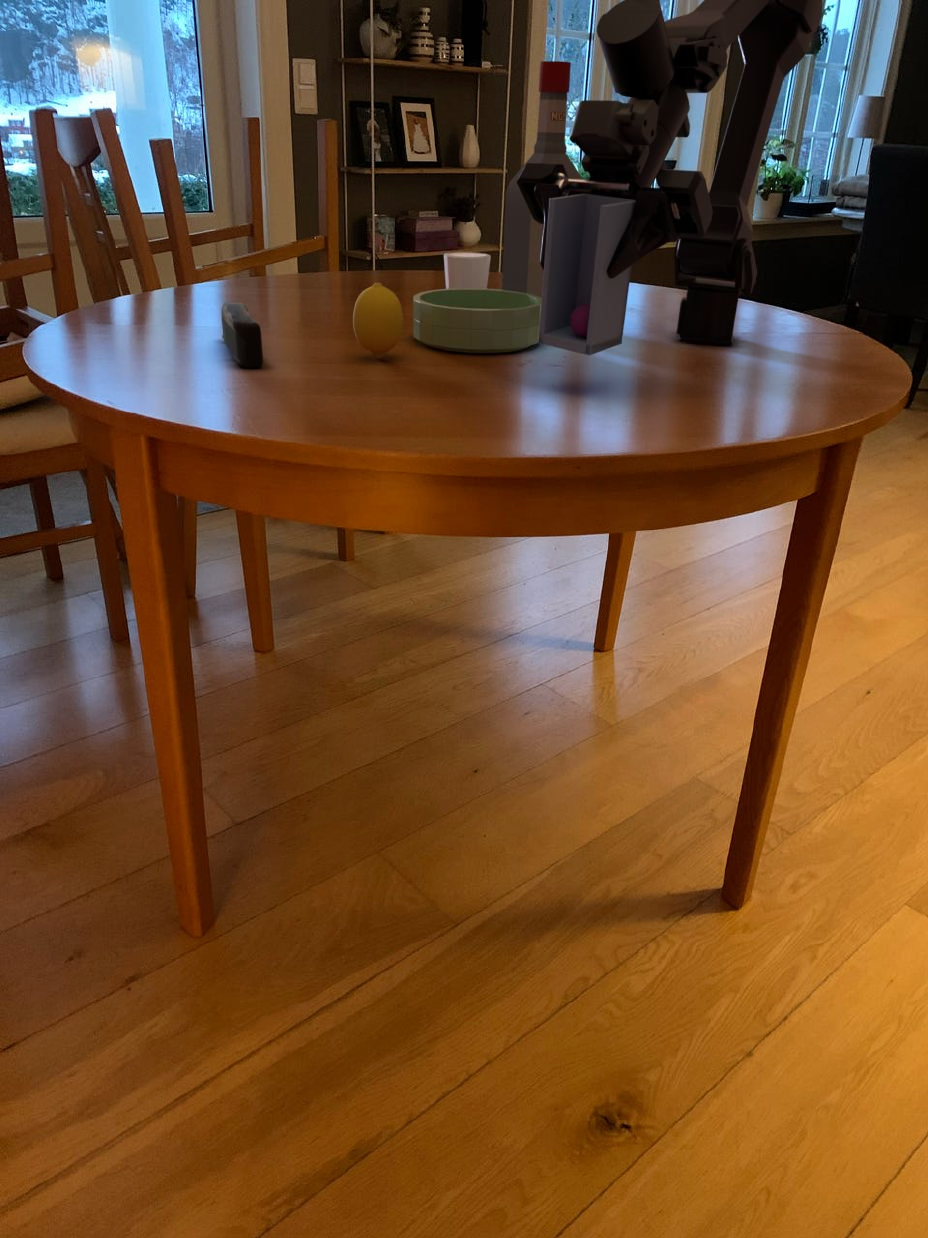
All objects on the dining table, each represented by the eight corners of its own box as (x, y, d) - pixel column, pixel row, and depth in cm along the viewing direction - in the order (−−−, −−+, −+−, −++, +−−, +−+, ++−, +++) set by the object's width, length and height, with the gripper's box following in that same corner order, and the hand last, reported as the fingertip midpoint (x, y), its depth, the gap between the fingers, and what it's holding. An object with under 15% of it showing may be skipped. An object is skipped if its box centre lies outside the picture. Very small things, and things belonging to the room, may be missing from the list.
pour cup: (570, 332, 92) (584, 193, 85) (621, 343, 89) (640, 200, 82) (537, 343, 88) (549, 198, 81) (590, 355, 85) (606, 205, 78)
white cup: (484, 310, 128) (486, 258, 125) (438, 307, 130) (438, 255, 126) (492, 302, 134) (494, 252, 131) (448, 299, 135) (449, 250, 132)
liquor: (587, 326, 120) (610, 62, 105) (533, 332, 115) (550, 57, 101) (544, 315, 126) (560, 65, 112) (492, 320, 122) (501, 61, 107)
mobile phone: (264, 321, 93) (238, 294, 105) (235, 323, 92) (212, 295, 103) (268, 370, 95) (242, 338, 107) (239, 372, 94) (216, 339, 106)
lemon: (384, 365, 97) (382, 288, 93) (344, 358, 100) (341, 282, 96) (413, 356, 101) (413, 282, 98) (374, 350, 104) (372, 277, 100)
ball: (601, 322, 88) (609, 306, 85) (590, 347, 87) (597, 333, 84) (574, 309, 88) (581, 293, 85) (562, 334, 87) (569, 319, 84)
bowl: (551, 334, 115) (554, 293, 112) (526, 359, 101) (528, 314, 99) (435, 324, 118) (435, 284, 116) (395, 348, 105) (395, 303, 103)
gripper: (532, 66, 84) (460, 200, 82) (720, 63, 75) (645, 215, 72) (568, 158, 94) (505, 281, 91) (740, 167, 84) (673, 304, 82)
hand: (575, 270), depth 84 cm, fingers closed on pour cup, 7 cm apart
